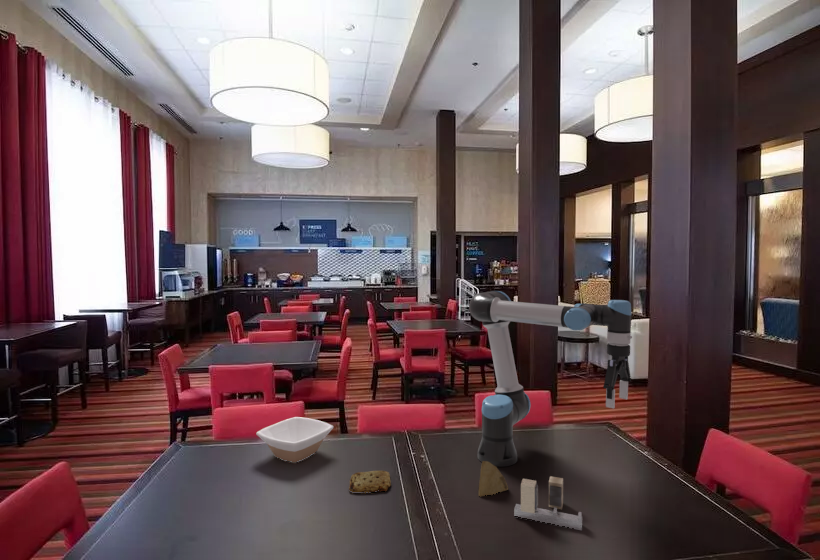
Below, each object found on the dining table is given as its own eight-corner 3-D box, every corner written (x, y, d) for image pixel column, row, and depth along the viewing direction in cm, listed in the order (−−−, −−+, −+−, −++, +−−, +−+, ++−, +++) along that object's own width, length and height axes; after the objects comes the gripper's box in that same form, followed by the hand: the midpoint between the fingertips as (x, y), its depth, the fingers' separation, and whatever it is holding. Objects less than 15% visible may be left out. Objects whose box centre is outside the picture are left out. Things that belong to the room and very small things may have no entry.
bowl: (339, 450, 187) (338, 424, 186) (293, 474, 166) (293, 446, 165) (297, 438, 199) (297, 414, 199) (250, 459, 179) (250, 433, 178)
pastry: (404, 483, 159) (404, 475, 159) (367, 503, 147) (367, 494, 147) (371, 468, 171) (371, 460, 171) (334, 485, 159) (333, 477, 158)
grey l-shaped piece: (513, 517, 137) (514, 483, 137) (516, 510, 141) (516, 477, 140) (581, 531, 130) (582, 495, 129) (582, 523, 134) (582, 488, 133)
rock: (509, 477, 158) (480, 470, 160) (512, 464, 152) (482, 458, 154) (506, 508, 150) (475, 501, 152) (509, 496, 144) (477, 489, 146)
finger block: (548, 507, 143) (548, 482, 142) (549, 500, 147) (550, 476, 146) (561, 510, 141) (562, 484, 141) (563, 503, 145) (563, 478, 145)
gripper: (617, 350, 151) (615, 414, 152) (640, 340, 169) (639, 397, 170) (594, 347, 156) (592, 408, 157) (619, 338, 174) (618, 393, 175)
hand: (617, 403), depth 164 cm, fingers open, 13 cm apart
